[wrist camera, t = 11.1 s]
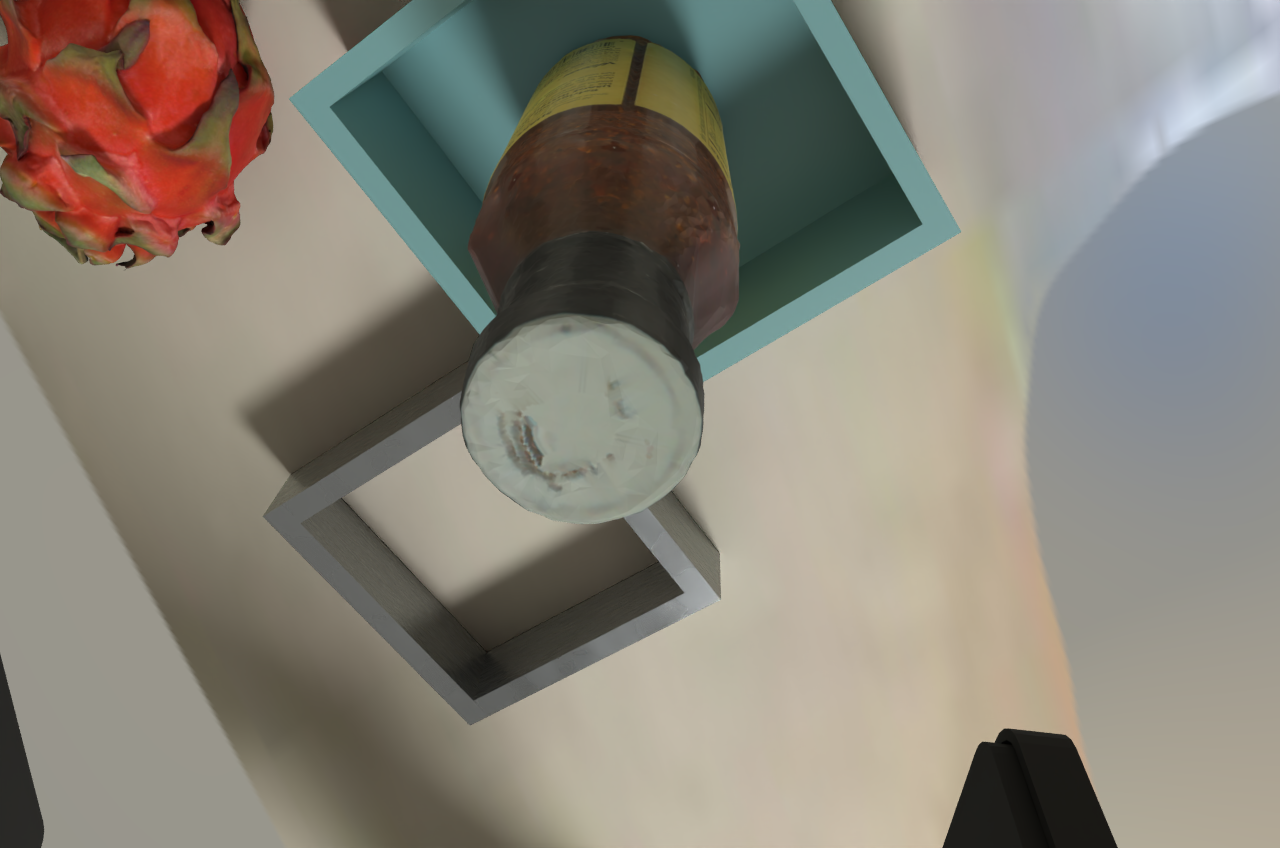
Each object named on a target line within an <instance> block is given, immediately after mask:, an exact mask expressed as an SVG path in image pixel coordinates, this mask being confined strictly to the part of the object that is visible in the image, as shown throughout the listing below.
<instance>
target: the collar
mask: <svg viewBox="0 0 1280 848" xmlns="http://www.w3.org/2000/svg"><path fill="white" fill-rule="evenodd" d="M468 363H469V361H467V362H466V363H464V364H463V365H461V366H460V367H458V368H456V369H455V370H453V371H452V372H450V373H449V374H447V375H446V376H444V377H442V378H441V379H439V380H438V381H436V382H435V383H433V384H432V385H430V386H428V387H427V388H425V389H424V390H422V391H421V392H419V393H417V394H416V395H414V396H413V397H411V398H410V399H408V400H407V401H405V402H403V403H402V404H400V405H399V406H397V407H396V408H394V409H393V410H391V411H389V412H388V413H386V414H385V415H383V416H382V417H380V418H379V419H377V420H375V421H374V422H372V423H371V424H369V425H368V426H366V427H365V428H363V429H361V430H360V431H358V432H357V433H355V434H354V435H352V436H350V437H349V438H347V439H346V440H344V441H343V442H341V443H340V444H338V445H336V446H335V447H333V448H332V449H330V450H329V451H327V452H326V453H324V454H322V455H321V456H319V457H318V458H316V459H315V460H313V461H312V462H310V463H308V464H307V465H305V466H304V467H302V468H301V469H299V470H298V471H296V472H294V473H293V474H291V475H290V476H289V478H288V479H287V481H286V482H285V484H284V485H283V487H282V488H281V490H280V491H279V493H278V494H277V496H276V497H275V499H274V500H273V502H272V503H271V505H270V506H269V508H268V510H267V511H266V513H265V514H264V516H263V517H264V518H265V519H266V520H267V521H268V522H269V523H270V524H271V525H272V526H273V527H274V528H275V529H276V530H277V531H278V532H279V533H280V534H281V535H282V536H283V537H284V538H285V539H286V540H287V541H288V542H289V543H290V544H291V545H292V546H293V547H294V548H295V549H296V550H297V551H298V552H299V553H300V554H301V555H302V557H303V558H304V559H305V560H306V561H307V562H308V563H309V564H310V565H311V566H312V567H313V568H314V569H315V570H316V571H317V572H318V573H319V574H320V575H321V576H322V577H323V578H324V579H325V580H326V581H327V582H328V583H329V584H330V585H331V586H332V587H333V588H334V589H335V590H336V591H337V592H338V593H339V594H340V595H341V596H342V597H343V598H344V599H345V600H346V601H347V602H348V603H349V604H350V605H351V606H352V607H353V608H354V609H355V610H356V611H357V612H358V613H359V614H360V615H361V616H362V617H363V618H364V619H365V620H366V621H367V622H368V623H369V624H370V625H371V626H372V627H373V628H374V629H375V630H376V631H377V632H378V633H379V634H380V635H381V636H382V637H383V638H384V639H385V640H386V641H387V642H388V643H389V644H390V645H391V646H392V647H393V648H394V649H395V650H396V651H397V652H398V653H399V654H400V655H401V656H402V657H403V658H404V659H405V660H406V661H407V662H408V663H409V664H410V665H411V666H412V667H413V668H414V669H415V670H416V671H417V673H418V674H419V675H420V676H421V677H422V678H423V679H424V680H425V681H426V682H427V683H428V684H429V685H430V686H431V687H432V688H433V689H434V690H435V691H436V692H437V693H438V694H439V695H440V696H441V697H442V698H443V699H444V700H445V701H446V702H447V703H448V704H449V705H450V706H451V707H452V708H453V709H454V710H455V711H456V712H457V713H458V714H459V715H460V716H461V717H462V718H463V719H464V720H465V721H466V722H467V723H468V724H469V725H472V724H474V723H476V722H478V721H480V720H482V719H484V718H486V717H488V716H490V715H492V714H494V713H496V712H498V711H500V710H502V709H504V708H506V707H508V706H510V705H512V704H514V703H516V702H518V701H520V700H522V699H524V698H526V697H528V696H530V695H532V694H534V693H536V692H538V691H540V690H542V689H544V688H546V687H548V686H550V685H552V684H554V683H556V682H558V681H560V680H562V679H564V678H566V677H568V676H570V675H572V674H574V673H576V672H577V671H579V670H581V669H583V668H585V667H587V666H589V665H591V664H593V663H595V662H597V661H599V660H601V659H603V658H605V657H607V656H609V655H611V654H613V653H615V652H617V651H619V650H621V649H623V648H625V647H627V646H629V645H631V644H633V643H635V642H637V641H639V640H641V639H643V638H645V637H647V636H649V635H651V634H653V633H655V632H657V631H659V630H661V629H663V628H665V627H667V626H669V625H671V624H673V623H675V622H677V621H679V620H681V619H683V618H685V617H687V616H689V615H691V614H693V613H695V612H697V611H699V610H701V609H703V608H705V607H707V606H709V605H711V604H713V603H715V602H717V601H719V600H721V587H720V554H719V552H718V551H717V550H716V548H715V547H714V546H713V545H712V543H711V542H710V541H709V539H708V538H707V537H706V536H705V534H704V533H703V532H702V530H701V529H700V528H699V527H698V525H697V524H696V523H695V521H694V520H693V519H692V518H691V516H690V515H689V514H688V512H687V511H686V510H685V509H684V507H683V506H682V505H681V503H680V502H679V501H678V500H677V498H676V497H675V496H674V494H673V493H672V492H671V491H670V492H669V493H668V494H666V495H665V496H664V497H663V498H662V499H660V500H659V501H657V502H656V503H654V504H653V505H651V506H650V507H648V508H647V509H645V510H644V511H642V512H640V513H637V514H633V515H629V516H626V517H623V518H624V519H625V520H626V521H627V523H628V524H629V525H630V526H631V528H632V529H633V530H634V531H635V532H636V534H637V535H638V536H639V537H640V539H641V540H642V541H643V542H644V544H645V545H646V546H647V547H648V549H649V550H650V551H651V552H652V553H653V555H654V556H655V557H656V558H657V560H658V561H659V562H658V563H656V564H654V565H652V566H650V567H648V568H646V569H644V570H643V571H641V572H639V573H637V574H635V575H633V576H631V577H629V578H627V579H625V580H624V581H622V582H620V583H618V584H616V585H614V586H612V587H610V588H608V589H606V590H604V591H603V592H601V593H599V594H597V595H595V596H593V597H591V598H589V599H587V600H585V601H584V602H582V603H580V604H578V605H576V606H574V607H572V608H570V609H568V610H566V611H565V612H563V613H561V614H559V615H557V616H555V617H553V618H551V619H549V620H547V621H546V622H544V623H542V624H540V625H538V626H536V627H534V628H532V629H530V630H528V631H527V632H525V633H523V634H521V635H519V636H517V637H515V638H513V639H511V640H509V641H508V642H506V643H504V644H502V645H500V646H498V647H496V648H494V649H492V650H490V651H489V652H486V651H485V650H484V649H483V648H482V647H481V646H480V645H479V644H478V643H477V642H476V641H475V640H474V639H473V638H472V636H471V635H470V634H469V633H468V632H467V631H466V630H465V629H464V628H463V627H462V626H461V625H460V624H459V623H458V622H457V621H456V620H455V618H454V617H453V616H452V615H451V614H450V613H449V612H448V611H447V610H446V609H445V608H444V607H443V606H442V605H441V604H440V603H439V602H438V600H437V599H436V598H435V597H434V596H433V595H432V594H431V593H430V592H429V591H428V590H427V589H426V588H425V587H424V586H423V585H422V583H421V582H420V581H419V580H418V579H417V578H416V577H415V576H414V575H413V574H412V573H411V572H410V571H409V570H408V569H407V568H406V567H405V565H404V564H403V563H402V562H401V561H400V560H399V559H398V558H397V557H396V556H395V555H394V554H393V553H392V552H391V551H390V550H389V549H388V547H387V546H386V545H385V544H384V543H383V542H382V541H381V540H380V539H379V538H378V537H377V536H376V535H375V534H374V533H373V532H372V531H371V529H370V528H369V527H368V526H367V525H366V524H365V523H364V522H363V521H362V520H361V519H360V518H359V517H358V516H357V515H356V514H355V513H354V511H353V510H352V509H351V508H350V507H349V506H348V505H347V504H346V503H345V502H344V501H343V500H342V499H341V498H342V497H343V496H345V495H347V494H348V493H350V492H351V491H353V490H355V489H356V488H358V487H359V486H361V485H363V484H364V483H366V482H368V481H369V480H371V479H372V478H374V477H376V476H377V475H379V474H380V473H382V472H384V471H385V470H387V469H389V468H390V467H392V466H393V465H395V464H397V463H398V462H400V461H401V460H403V459H405V458H406V457H408V456H410V455H411V454H413V453H414V452H416V451H418V450H419V449H421V448H422V447H424V446H426V445H427V444H429V443H430V442H432V441H434V440H435V439H437V438H439V437H440V436H442V435H443V434H445V433H447V432H448V431H450V430H451V429H453V428H455V427H456V426H458V425H460V424H461V412H460V407H459V406H460V398H461V393H462V388H463V384H464V379H465V375H466V370H467V367H468Z"/></svg>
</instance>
